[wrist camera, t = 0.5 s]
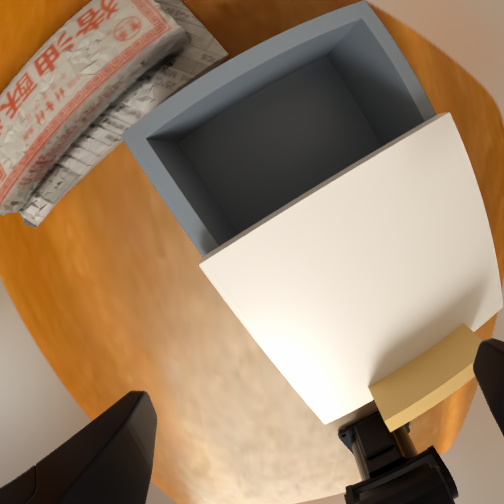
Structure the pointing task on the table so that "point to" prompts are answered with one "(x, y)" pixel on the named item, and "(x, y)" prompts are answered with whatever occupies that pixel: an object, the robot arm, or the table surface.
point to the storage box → (277, 122)
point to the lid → (371, 279)
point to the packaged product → (93, 94)
